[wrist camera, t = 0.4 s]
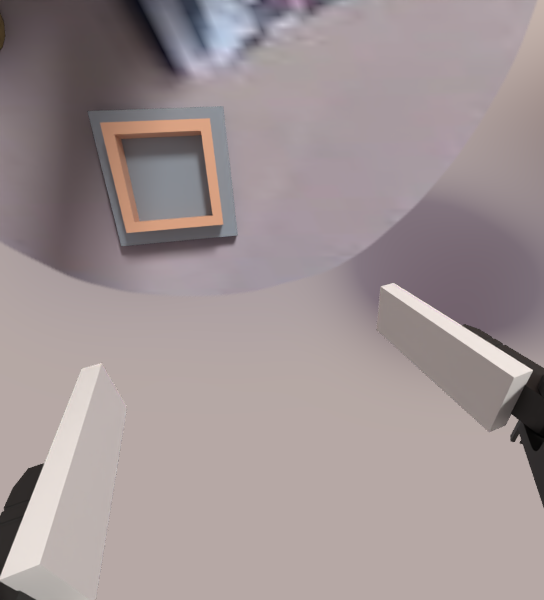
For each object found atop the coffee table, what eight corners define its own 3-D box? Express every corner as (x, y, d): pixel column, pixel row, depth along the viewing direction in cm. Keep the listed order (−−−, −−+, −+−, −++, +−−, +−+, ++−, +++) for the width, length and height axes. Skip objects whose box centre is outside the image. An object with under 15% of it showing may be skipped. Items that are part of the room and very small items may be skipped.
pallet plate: (92, 114, 28) (77, 104, 25) (223, 110, 30) (223, 99, 27) (124, 244, 33) (115, 249, 30) (237, 234, 34) (238, 237, 31)
